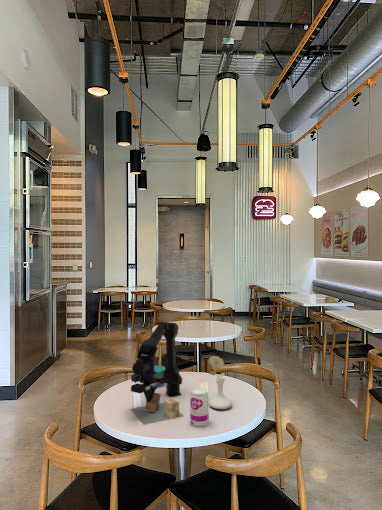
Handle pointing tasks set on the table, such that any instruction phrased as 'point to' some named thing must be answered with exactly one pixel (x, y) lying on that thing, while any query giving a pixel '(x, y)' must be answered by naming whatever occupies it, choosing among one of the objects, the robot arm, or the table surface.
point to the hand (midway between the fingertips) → (148, 402)
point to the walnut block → (153, 403)
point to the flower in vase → (219, 386)
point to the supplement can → (199, 408)
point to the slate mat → (152, 414)
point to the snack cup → (159, 373)
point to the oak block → (171, 408)
